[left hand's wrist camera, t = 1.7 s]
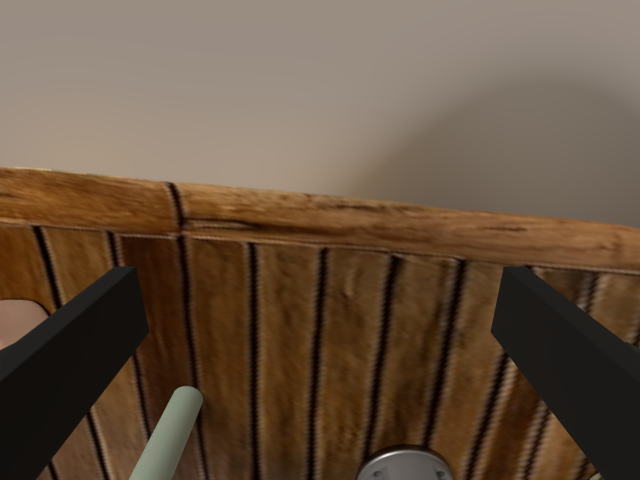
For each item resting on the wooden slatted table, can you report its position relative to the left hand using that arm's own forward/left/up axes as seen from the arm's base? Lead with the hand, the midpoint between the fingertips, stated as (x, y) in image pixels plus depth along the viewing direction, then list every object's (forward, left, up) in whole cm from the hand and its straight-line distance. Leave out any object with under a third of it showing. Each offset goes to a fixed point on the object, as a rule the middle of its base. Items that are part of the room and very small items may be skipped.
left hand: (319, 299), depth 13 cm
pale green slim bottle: (-32, +19, -28) cm, 47 cm away
